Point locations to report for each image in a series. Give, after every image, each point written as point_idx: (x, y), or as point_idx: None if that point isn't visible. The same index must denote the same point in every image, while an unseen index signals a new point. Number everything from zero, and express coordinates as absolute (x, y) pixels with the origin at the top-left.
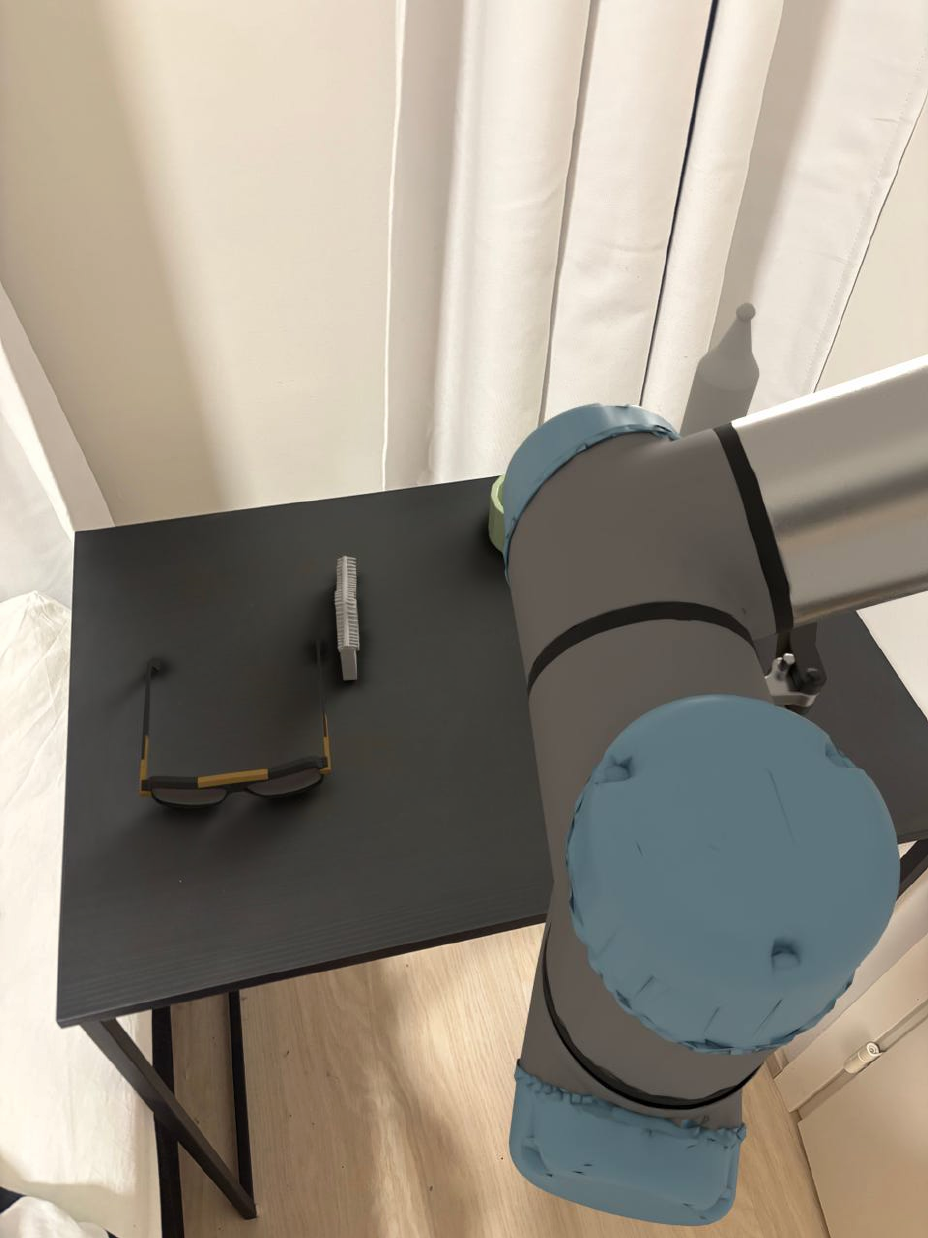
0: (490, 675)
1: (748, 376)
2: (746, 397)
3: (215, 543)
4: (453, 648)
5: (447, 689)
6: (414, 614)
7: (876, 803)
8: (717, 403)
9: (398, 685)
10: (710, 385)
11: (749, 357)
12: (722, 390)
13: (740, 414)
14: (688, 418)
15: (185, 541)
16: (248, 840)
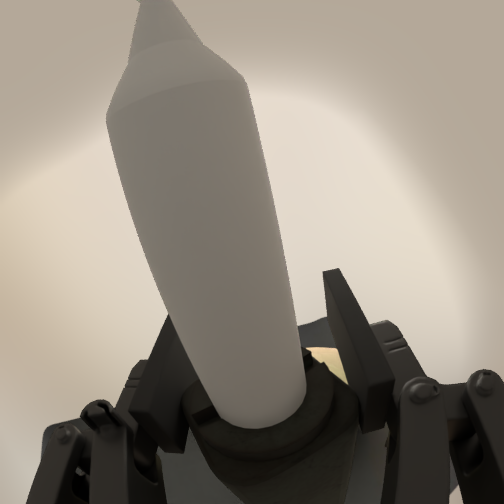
0: (223, 484)
1: (204, 60)
2: (227, 110)
3: (84, 425)
4: (198, 472)
5: (198, 497)
6: (174, 455)
7: None
8: (150, 148)
9: (170, 498)
10: (117, 115)
11: (194, 39)
12: (142, 103)
13: (238, 166)
14: (141, 242)
15: (74, 425)
16: None
